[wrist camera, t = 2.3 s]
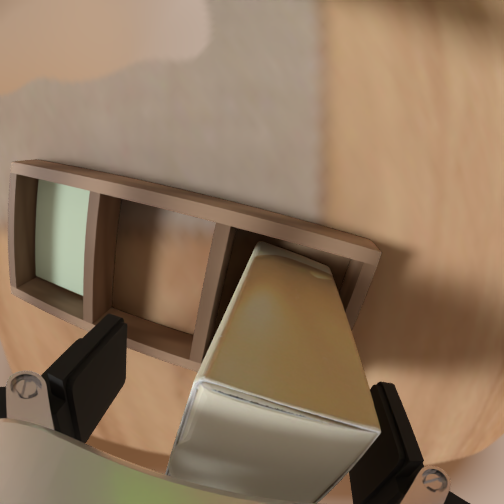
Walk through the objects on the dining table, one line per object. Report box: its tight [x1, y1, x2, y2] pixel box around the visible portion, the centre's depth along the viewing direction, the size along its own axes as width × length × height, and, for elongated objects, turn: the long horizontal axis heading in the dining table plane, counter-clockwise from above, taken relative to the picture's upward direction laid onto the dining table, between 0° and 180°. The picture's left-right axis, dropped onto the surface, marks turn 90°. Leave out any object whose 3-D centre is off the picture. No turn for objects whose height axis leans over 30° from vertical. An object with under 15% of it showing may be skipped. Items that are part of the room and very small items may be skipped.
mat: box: [35, 179, 90, 296], centre depth 19 cm, size 6×7×1 cm
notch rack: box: [8, 160, 382, 372], centre depth 17 cm, size 22×9×2 cm, turn 76°
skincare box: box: [165, 242, 381, 504], centre depth 12 cm, size 6×4×12 cm
